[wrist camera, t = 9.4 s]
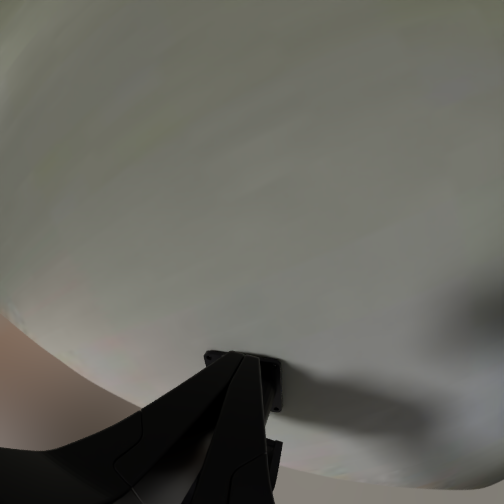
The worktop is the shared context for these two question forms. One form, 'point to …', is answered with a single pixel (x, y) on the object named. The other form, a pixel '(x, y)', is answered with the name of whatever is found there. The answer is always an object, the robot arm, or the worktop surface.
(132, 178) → the worktop surface
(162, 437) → the robot arm
